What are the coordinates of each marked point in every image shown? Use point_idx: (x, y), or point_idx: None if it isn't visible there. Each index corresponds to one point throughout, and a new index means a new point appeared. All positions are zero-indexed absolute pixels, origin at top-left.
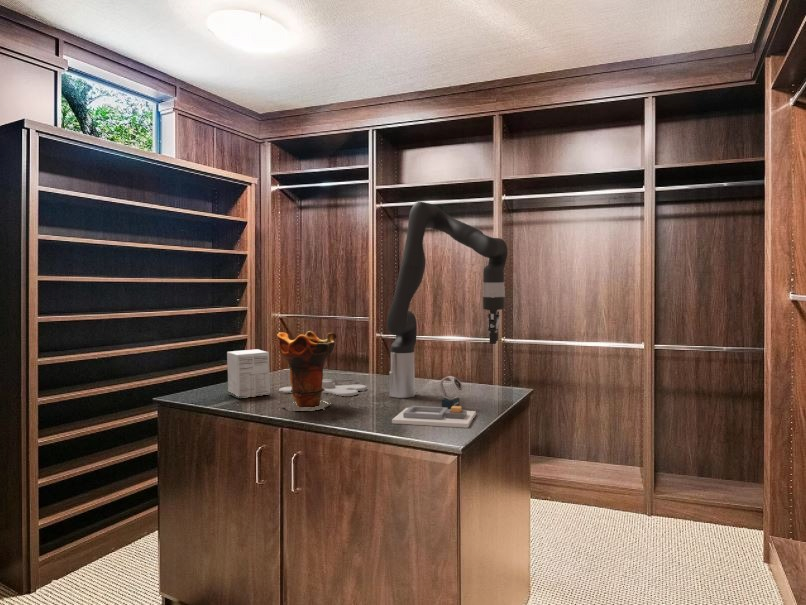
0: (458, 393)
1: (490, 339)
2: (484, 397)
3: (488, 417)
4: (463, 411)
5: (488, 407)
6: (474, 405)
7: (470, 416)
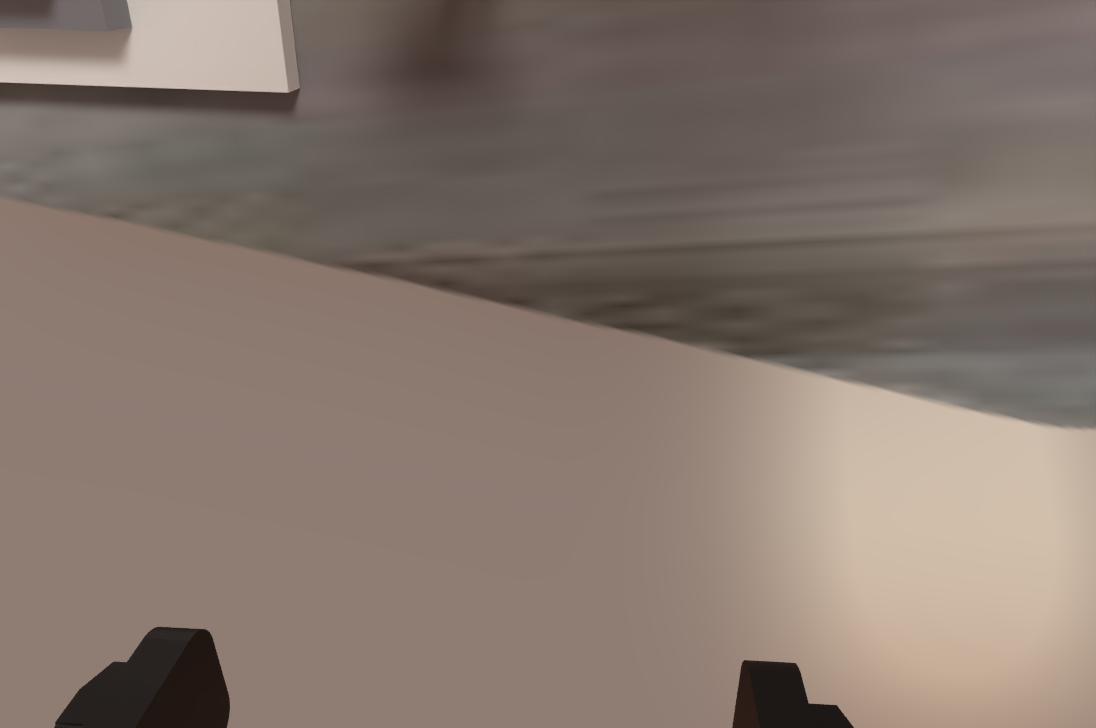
0: None
1: (108, 712)
2: (1052, 93)
3: (250, 198)
4: (34, 7)
5: (596, 171)
6: (660, 30)
7: (89, 68)
